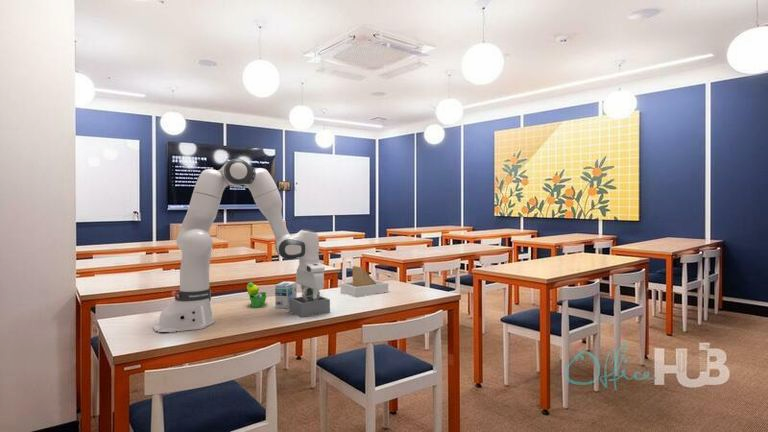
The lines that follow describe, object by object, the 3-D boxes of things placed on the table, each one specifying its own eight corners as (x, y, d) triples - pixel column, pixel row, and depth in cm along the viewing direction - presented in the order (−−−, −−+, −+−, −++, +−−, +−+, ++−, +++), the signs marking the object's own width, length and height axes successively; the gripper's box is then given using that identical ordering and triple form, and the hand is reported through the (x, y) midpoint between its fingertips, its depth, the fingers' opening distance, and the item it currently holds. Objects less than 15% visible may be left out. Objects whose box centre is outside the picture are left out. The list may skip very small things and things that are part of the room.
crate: (301, 317, 197) (301, 303, 197) (289, 311, 207) (289, 298, 206) (329, 312, 205) (329, 299, 205) (317, 307, 215) (316, 294, 215)
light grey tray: (355, 297, 237) (355, 287, 237) (340, 292, 249) (340, 283, 249) (388, 292, 249) (388, 283, 249) (372, 287, 261) (372, 279, 261)
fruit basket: (266, 307, 215) (266, 283, 215) (246, 308, 213) (246, 284, 212) (265, 302, 226) (265, 279, 226) (247, 303, 224) (246, 280, 223)
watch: (322, 309, 206) (321, 285, 206) (306, 312, 201) (305, 287, 201) (315, 307, 211) (315, 283, 210) (299, 310, 206) (299, 285, 205)
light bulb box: (288, 308, 213) (288, 285, 212) (274, 308, 214) (274, 285, 214) (297, 303, 223) (297, 281, 223) (284, 302, 225) (283, 281, 224)
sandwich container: (384, 292, 251) (384, 264, 250) (362, 295, 241) (362, 267, 240) (374, 289, 257) (374, 262, 257) (352, 293, 247) (352, 265, 247)
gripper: (292, 263, 212) (292, 293, 212) (313, 269, 195) (313, 301, 196) (304, 262, 215) (305, 291, 216) (326, 267, 199) (326, 299, 200)
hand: (309, 296), depth 206 cm, fingers open, 8 cm apart
